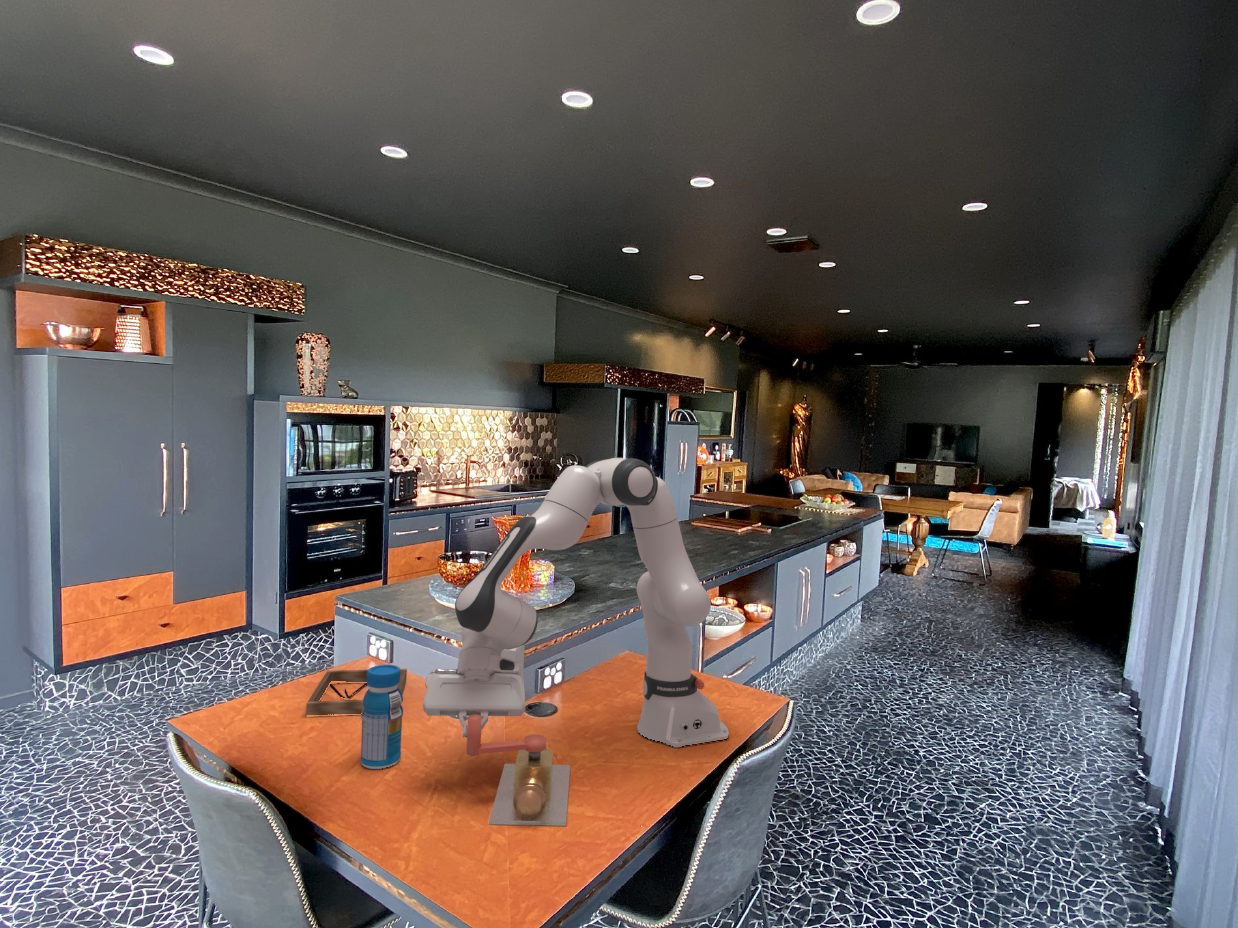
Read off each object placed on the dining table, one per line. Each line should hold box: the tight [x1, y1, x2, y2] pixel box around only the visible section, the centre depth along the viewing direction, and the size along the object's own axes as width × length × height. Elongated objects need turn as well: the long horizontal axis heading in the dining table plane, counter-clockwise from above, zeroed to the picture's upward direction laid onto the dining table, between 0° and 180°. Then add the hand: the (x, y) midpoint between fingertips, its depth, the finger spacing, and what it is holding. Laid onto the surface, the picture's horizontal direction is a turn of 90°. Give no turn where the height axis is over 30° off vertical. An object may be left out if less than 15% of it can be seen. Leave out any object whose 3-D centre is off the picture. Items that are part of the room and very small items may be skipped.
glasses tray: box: [305, 668, 408, 716], centre depth 180 cm, size 21×24×4 cm
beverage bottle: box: [360, 664, 404, 770], centre depth 145 cm, size 8×8×20 cm
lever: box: [466, 715, 547, 757], centre depth 132 cm, size 16×4×7 cm, turn 109°
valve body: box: [488, 747, 571, 827], centre depth 134 cm, size 22×14×9 cm, turn 2°
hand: (471, 736), depth 132 cm, fingers closed
